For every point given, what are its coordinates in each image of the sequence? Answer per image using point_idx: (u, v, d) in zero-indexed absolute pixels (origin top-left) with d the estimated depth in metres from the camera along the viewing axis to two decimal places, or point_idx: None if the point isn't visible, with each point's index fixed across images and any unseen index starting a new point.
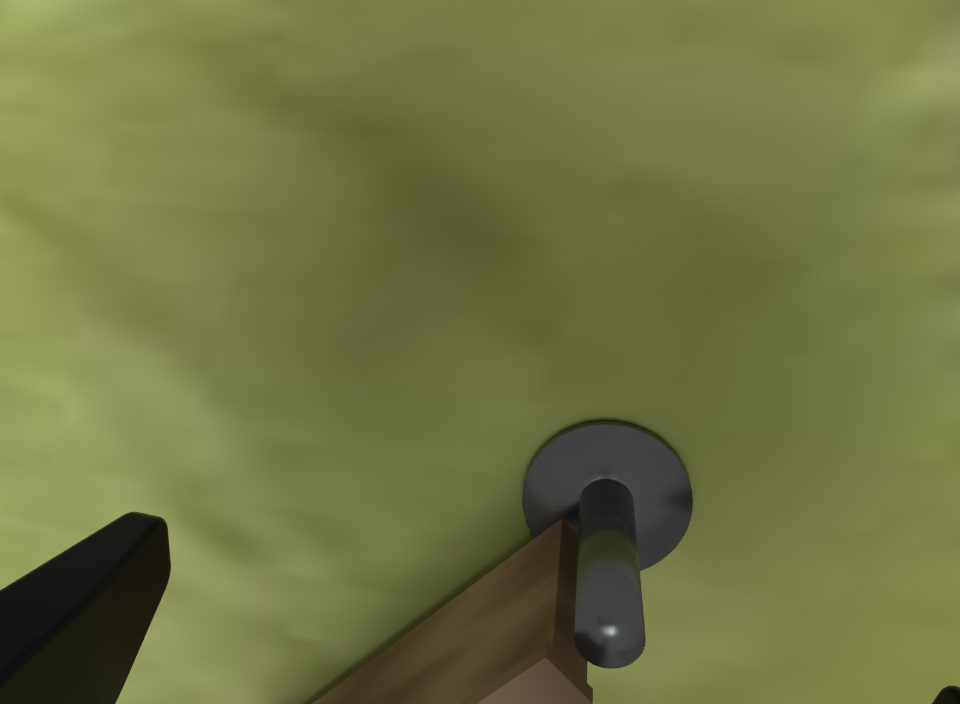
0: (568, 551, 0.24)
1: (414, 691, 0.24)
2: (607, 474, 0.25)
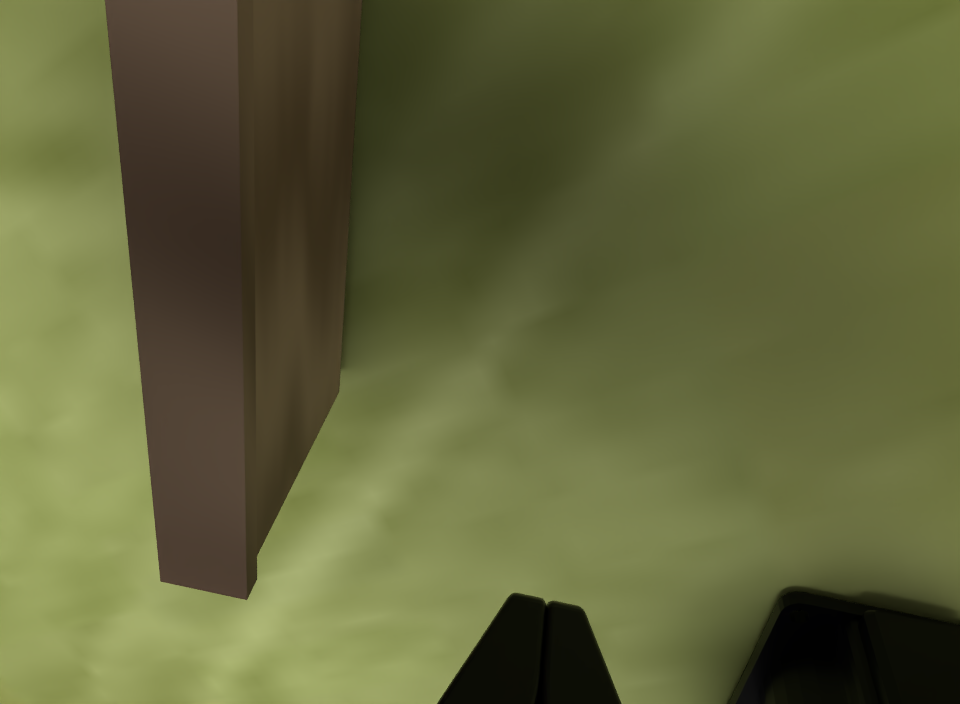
0: None
1: None
2: None
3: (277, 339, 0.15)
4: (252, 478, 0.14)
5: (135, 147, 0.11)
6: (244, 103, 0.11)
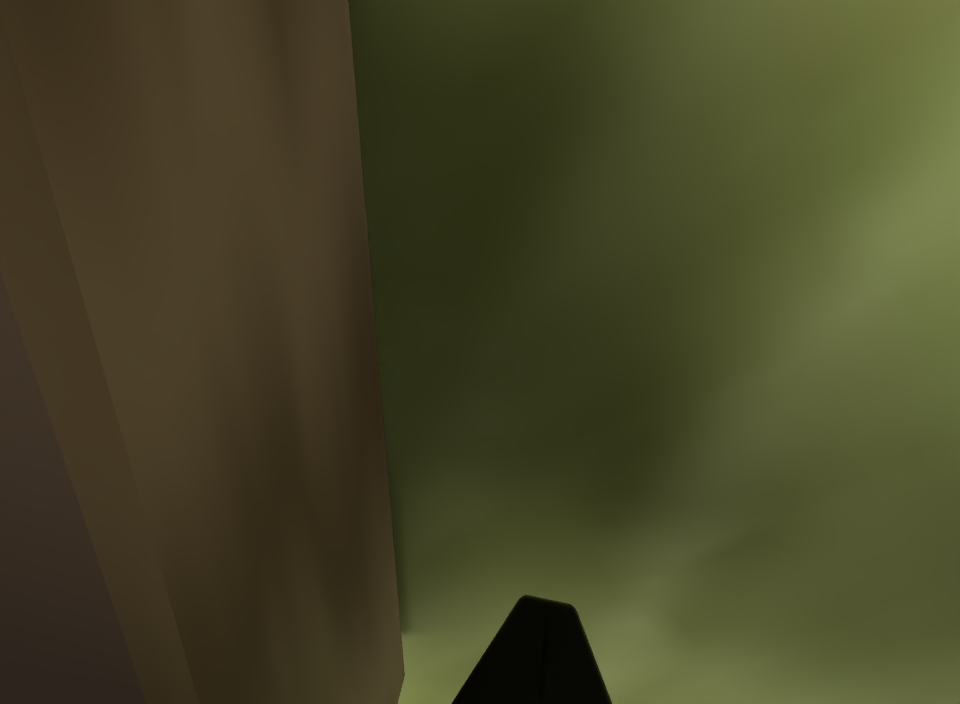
0: None
1: None
2: None
3: None
4: None
5: None
6: (135, 597, 0.05)
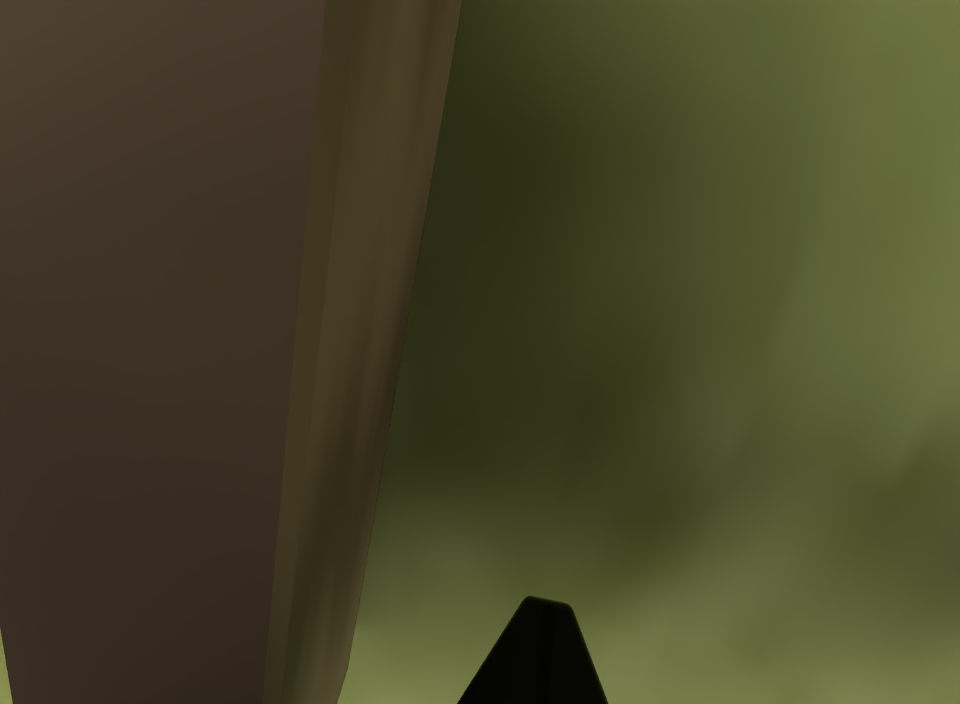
0: None
1: None
2: None
3: None
4: None
5: (41, 670, 0.05)
6: (277, 611, 0.05)
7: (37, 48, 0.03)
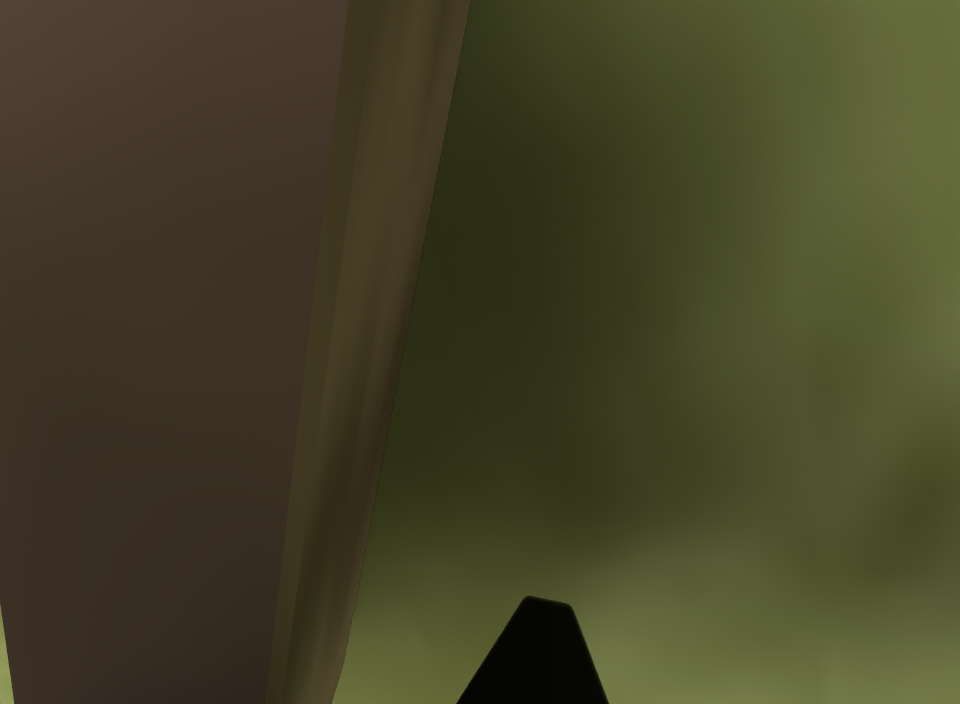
0: None
1: None
2: None
3: None
4: None
5: (43, 666, 0.05)
6: (282, 610, 0.05)
7: (54, 39, 0.03)
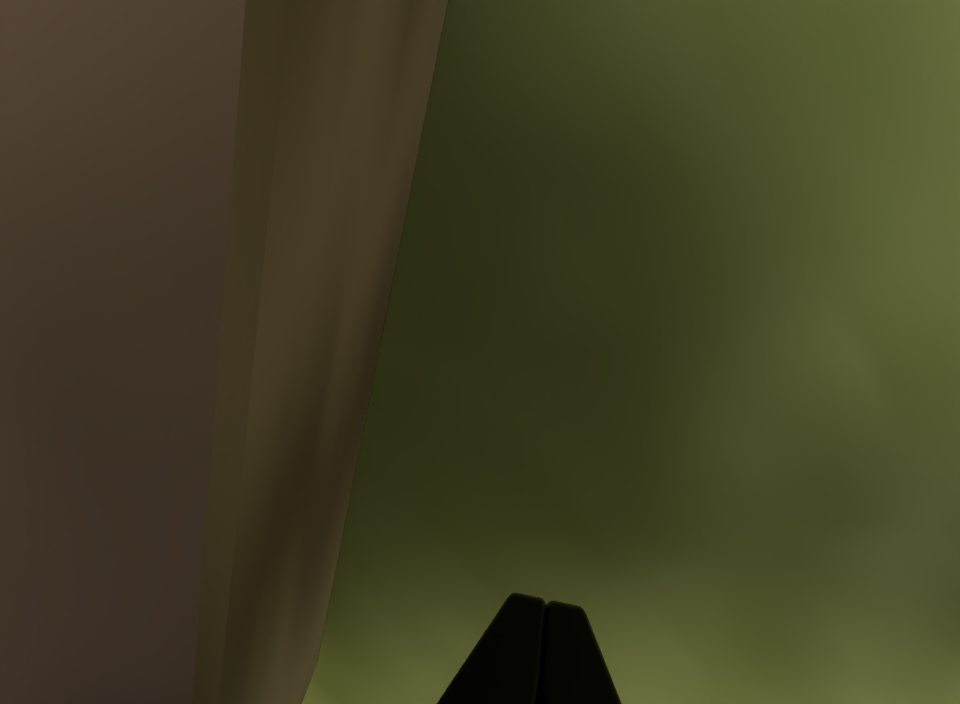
0: None
1: None
2: None
3: None
4: None
5: None
6: (211, 593, 0.05)
7: None
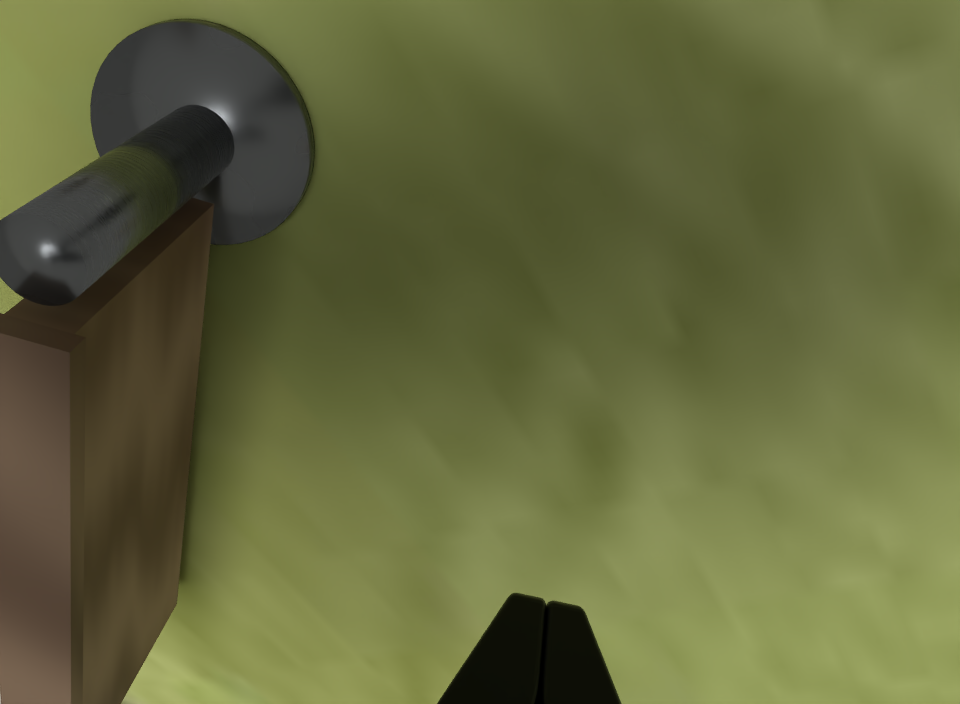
0: None
1: None
2: None
3: (108, 626, 0.21)
4: None
5: (1, 561, 0.17)
6: (75, 545, 0.17)
7: (9, 411, 0.15)
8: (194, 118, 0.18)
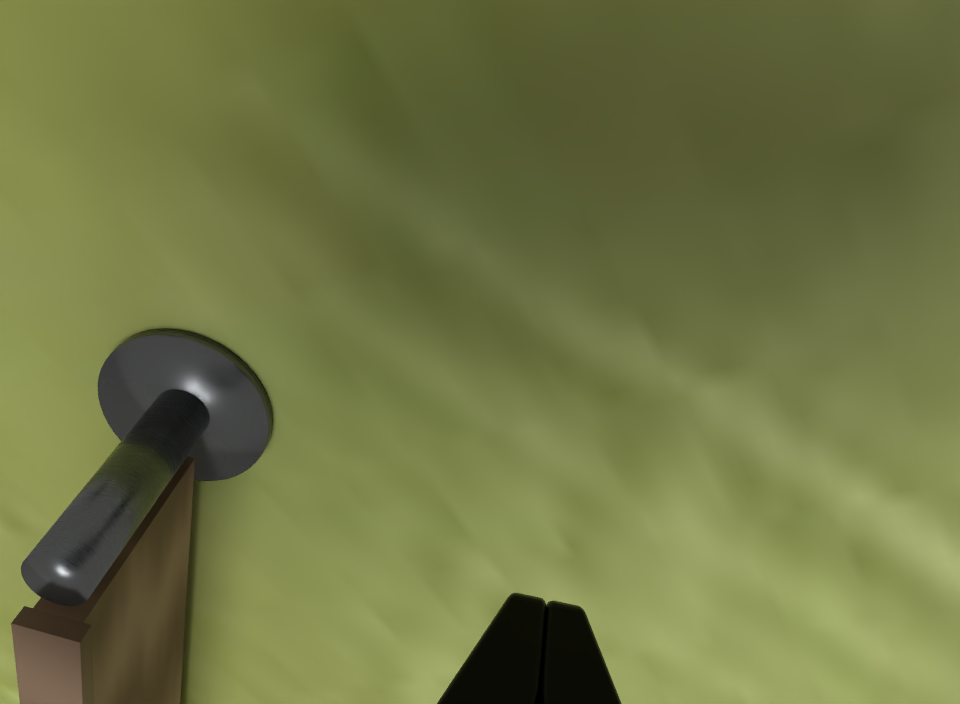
0: None
1: None
2: None
3: None
4: None
5: None
6: None
7: (37, 672, 0.20)
8: (176, 408, 0.23)
